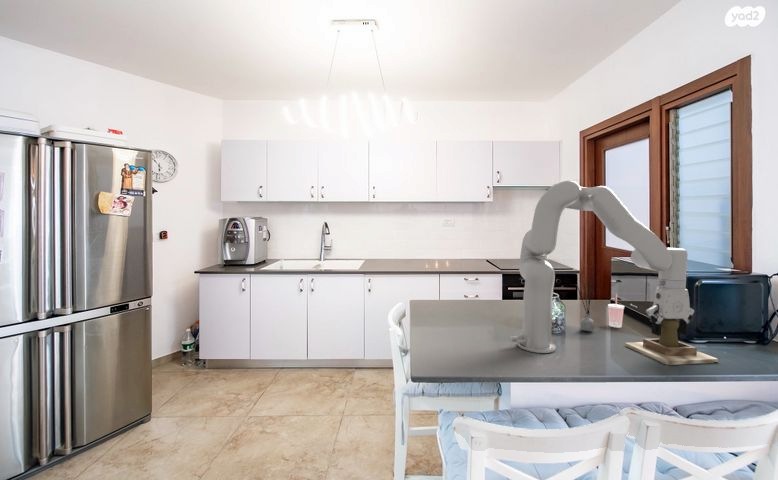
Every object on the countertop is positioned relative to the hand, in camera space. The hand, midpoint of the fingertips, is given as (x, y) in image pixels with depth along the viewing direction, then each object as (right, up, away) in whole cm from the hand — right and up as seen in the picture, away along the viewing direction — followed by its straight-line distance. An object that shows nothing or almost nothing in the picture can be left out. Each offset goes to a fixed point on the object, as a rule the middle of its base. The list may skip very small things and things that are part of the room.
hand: (668, 334), depth 128 cm
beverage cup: (+2, -5, +34) cm, 34 cm away
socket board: (0, -7, 0) cm, 7 cm away
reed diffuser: (-15, -6, +27) cm, 31 cm away
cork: (0, -6, 0) cm, 6 cm away
